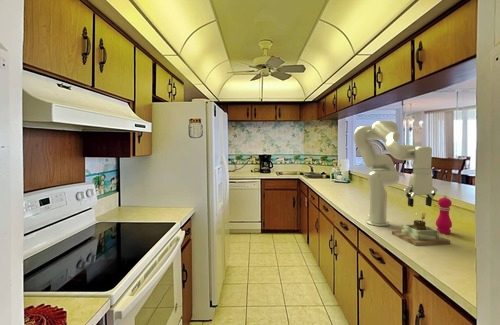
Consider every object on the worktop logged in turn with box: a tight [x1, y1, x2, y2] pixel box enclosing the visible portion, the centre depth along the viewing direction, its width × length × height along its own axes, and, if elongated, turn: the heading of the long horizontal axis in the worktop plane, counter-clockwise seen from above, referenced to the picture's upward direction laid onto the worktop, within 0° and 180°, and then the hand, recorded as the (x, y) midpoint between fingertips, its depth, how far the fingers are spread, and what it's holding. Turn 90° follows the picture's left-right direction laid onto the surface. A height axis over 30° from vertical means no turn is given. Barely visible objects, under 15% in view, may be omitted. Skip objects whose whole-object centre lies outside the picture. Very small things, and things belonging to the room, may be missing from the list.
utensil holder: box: [412, 212, 427, 230], centre depth 148 cm, size 6×6×12 cm
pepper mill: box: [435, 194, 453, 235], centre depth 158 cm, size 7×7×20 cm
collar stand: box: [391, 224, 451, 246], centre depth 148 cm, size 18×18×6 cm
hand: (419, 205), depth 148 cm, fingers open, 9 cm apart
